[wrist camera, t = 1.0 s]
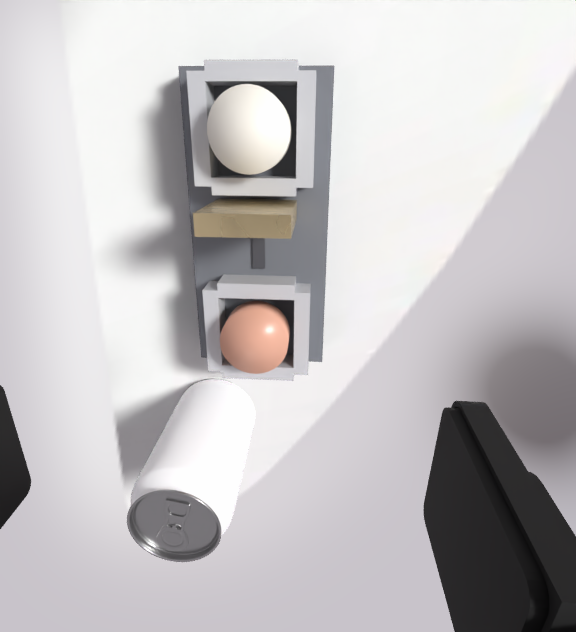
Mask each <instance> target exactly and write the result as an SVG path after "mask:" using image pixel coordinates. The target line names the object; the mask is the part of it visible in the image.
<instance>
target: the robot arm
mask: <svg viewBox="0 0 576 632" xmlns="http://www.w3.org/2000/svg"><path fill="white" fill-rule="evenodd" d="M30 486H31V478H30V474H29V471H28V468H27V464H26V461H25V458H24V454H23V451H22V448H21V444H20V441H19V438H18V434H17V431H16V428H15V424H14V421H13V418H12V414H11V411H10V408H9V405H8V401H7V398H6V394H5V391H4V389H3V387H2V386H1V385H0V529H1V527H2V526H3V525H4V524H5V522H6V521H7V520H8V519H9V518H10V516H11V515H12V513H13V512H14V511H15V510H16V509H17V507H18V506H19V505H20V503H21V502H22V501H23V500H24V498H25V497H26V496H27V494H28V492H29V490H30ZM424 520H425V524H426V527H427V531H428V535H429V538H430V542H431V546H432V550H433V553H434V557H435V561H436V564H437V568H438V572H439V576H440V579H441V583H442V587H443V590H444V594H445V598H446V601H447V604H448V608H449V612H450V616H451V620H452V623H453V627H454V631H455V632H576V536H575V534H574V533H573V531H572V530H571V528H570V527H569V525H568V523H567V522H566V520H565V519H564V517H563V516H562V514H561V512H560V511H559V509H558V508H557V506H556V504H555V503H554V501H553V500H552V498H551V496H550V495H549V493H548V492H547V490H546V488H545V487H544V485H543V484H542V482H541V481H540V480H539V479H538V477H537V476H536V475H534V474H533V473H531V472H528V471H527V469H526V468H525V466H524V464H523V463H522V461H521V459H520V458H519V456H518V455H517V453H516V451H515V450H514V448H513V446H512V445H511V443H510V441H509V440H508V438H507V436H506V435H505V433H504V431H503V430H502V428H501V427H500V425H499V423H498V422H497V420H496V418H495V417H494V415H493V414H492V412H491V410H490V409H489V407H488V406H487V404H486V403H483V402H467V401H455V402H454V403H453V405H452V407H451V408H444V410H443V413H442V417H441V422H440V427H439V432H438V437H437V441H436V446H435V451H434V457H433V461H432V466H431V471H430V476H429V481H428V486H427V491H426V496H425V501H424Z"/></svg>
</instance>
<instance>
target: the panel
mask: <svg viewBox="0 0 576 632" xmlns="http://www.w3.org/2000/svg"><path fill="white" fill-rule="evenodd" d="M179 78H180V91H181V104H182V116H183V129H184V142H185V154H186V167H187V180H188V192H189V205H190V218H191V230H192V243H193V256H194V268H195V281H196V294H197V306H198V319H199V332H200V344H201V357H206V358H207V360H208V371H219V372H222V374H223V378H239V379H264V380H289V381H293V379H294V374H296V375H308V361H314V362H322V350H323V326H324V301H325V277H326V253H327V229H328V205H329V181H330V157H331V132H332V108H333V84H334V66H299V64H298V60H204V66H179ZM240 84H253V85H258V86H260V87H263V88H265V89H267V90H268V91H270V92H271V93H272V94H274V95H275V96H276V97H277V98H278V99H279V101H280V102H281V103H282V104H283V105H284V107H285V109H286V110H287V113H288V115H289V118H290V121H291V128H292V135H291V142H290V145H289V148H288V150H287V152H286V154H285V156H284V157H283V158H282V160H281V161H280V162H279V163H278V164H277V165H275V166H274V167H272V168H270V169H268V170H266V171H265V172H262V173H258V174H251V175H248V174H241V173H237V172H235V171H232V170H231V169H229V168H227V167H226V166H225V165H223V164H222V163H221V162H220V161H219V160H218V158H217V157H216V156H215V154H214V152H213V151H212V149H211V146H210V143H209V140H208V135H207V121H208V116H209V112H210V110H211V107H212V105H213V104H214V102H215V101H216V99H217V98H218V97H219V96H220V95H221V94H222V93H223V92H224V91H226V90H227V89H229V88H231V87H233V86H236V85H240ZM217 199H272V200H297V220H296V223H295V227H294V230H293V234H292V237H291V239H278V238H229V237H195V235H194V222H193V213H194V212H196V211H198V210H199V209H201V208H203V207H205V206H206V205H208V204H210V203H212V202H214V201H215V200H217ZM249 301H263V302H267V303H270V304H272V305H274V306H275V307H277V308H278V309H279V310H281V312H282V313H283V314H284V315H285V317H286V319H287V320H288V323H289V327H290V336H289V343H288V350H287V353H286V356H285V358H284V360H283V361H282V362H281V364H280V365H279V366H277V367H276V368H275V369H273V370H271V371H269V372H265V373H260V374H252V373H246V372H243V371H241V370H238V369H237V368H235V367H234V366H232V365H231V364H230V363H229V362H228V361H227V360H226V358H225V357H224V355H223V353H222V351H221V348H220V334H221V331H222V329H223V327H224V325H225V323H226V321H227V319H228V317H229V315H230V314H231V312H232V311H233V310H234V309H235V308H236V307H237V306H239V305H241V304H243V303H245V302H249Z"/></svg>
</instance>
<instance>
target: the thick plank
mask: <svg viewBox="0 0 576 632" xmlns="http://www.w3.org/2000/svg"><path fill="white" fill-rule="evenodd" d="M296 220H297V200H272V199H217V200H215V201H214V202H212V203H210V204H208V205H206V206H205V207H203V208H201V209H199V210H198V211H196V212H194V213H193V222H194V235H195V237H229V238H278V239H291V237H292V234H293V230H294V227H295V223H296Z"/></svg>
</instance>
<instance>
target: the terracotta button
mask: <svg viewBox="0 0 576 632" xmlns="http://www.w3.org/2000/svg"><path fill="white" fill-rule="evenodd" d="M289 336H290V327H289V323H288V320H287V319H286V317H285V315H284V314H283V313H282V312H281V310H279V309H278V308H277V307H275V306H274V305H272V304H270V303H267V302H263V301H249V302H245V303H243V304H241V305H239V306H237V307H236V308H235V309H234V310H233V311H232V312H231V314H230V315H229V317H228V319H227V321H226V323H225V325H224V327H223V329H222V331H221V334H220V348H221V351H222V353H223V355H224V357H225V358H226V360H227V361H228V362H229V363H230V364H231V365H232V366H234V367H235V368H237V369H238V370H241V371H243V372H246V373H252V374H260V373H265V372H269V371H271V370H273V369H275V368H276V367H277V366H279V365H280V364H281V362H282V361H283V360H284V358H285V356H286V353H287V350H288V343H289Z"/></svg>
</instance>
